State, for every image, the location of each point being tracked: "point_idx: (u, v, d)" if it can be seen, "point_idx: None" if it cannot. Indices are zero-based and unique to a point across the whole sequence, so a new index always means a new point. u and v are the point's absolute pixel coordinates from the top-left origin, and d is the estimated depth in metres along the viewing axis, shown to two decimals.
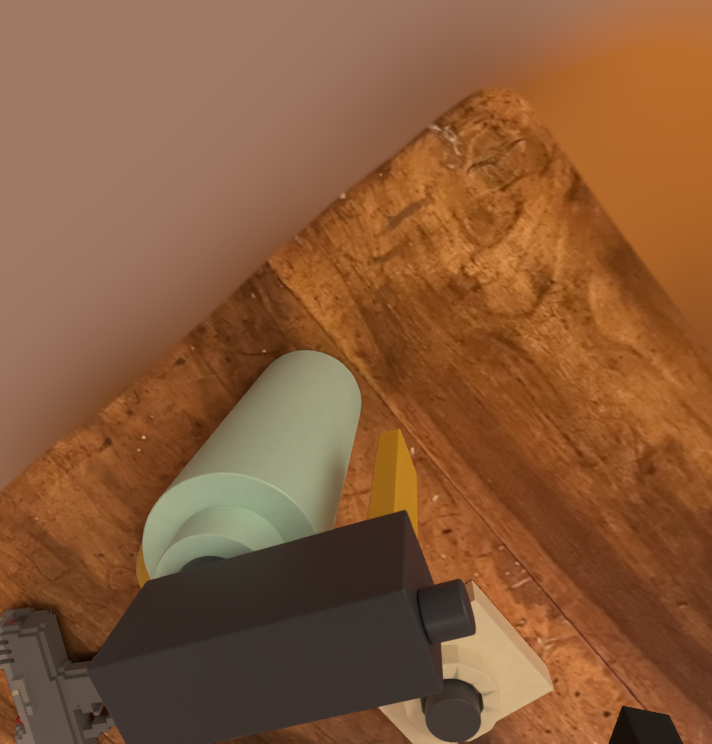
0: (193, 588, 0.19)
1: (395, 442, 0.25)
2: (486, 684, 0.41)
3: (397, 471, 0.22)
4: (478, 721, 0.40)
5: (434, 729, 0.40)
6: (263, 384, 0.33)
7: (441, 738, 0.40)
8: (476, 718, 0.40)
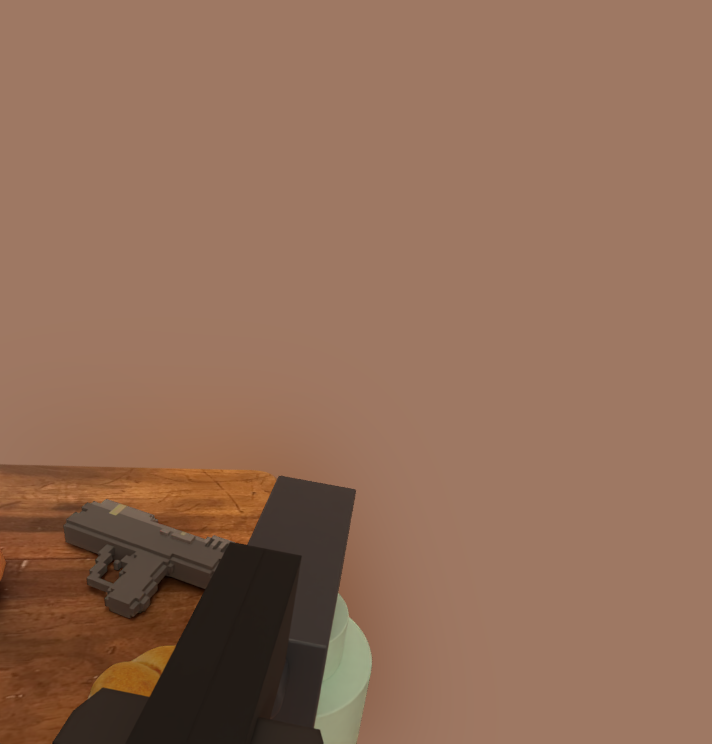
0: None
1: None
2: None
3: None
4: None
5: None
6: None
7: None
8: None
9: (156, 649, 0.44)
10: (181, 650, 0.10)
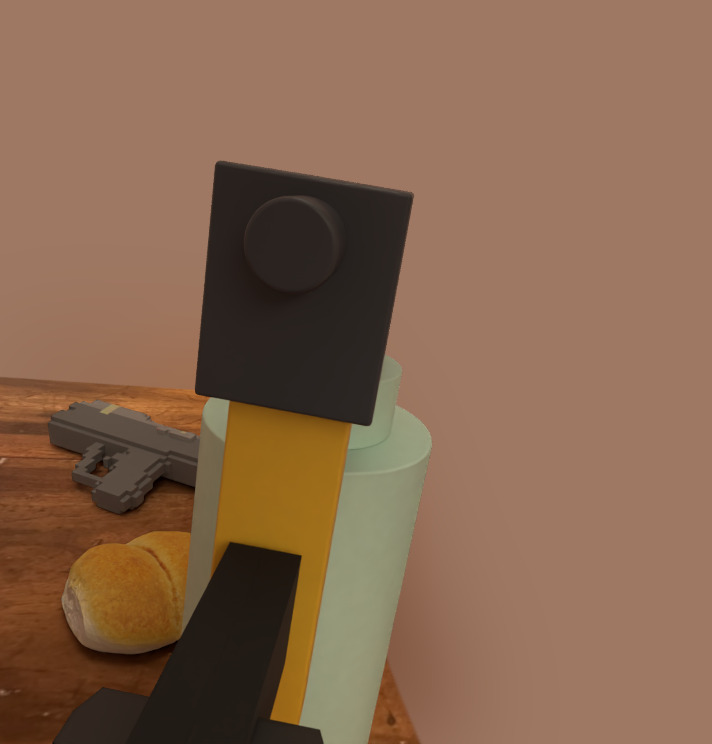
0: None
1: (307, 673, 0.14)
2: None
3: (322, 574, 0.13)
4: None
5: None
6: None
7: None
8: None
9: (149, 533, 0.37)
10: (181, 650, 0.10)
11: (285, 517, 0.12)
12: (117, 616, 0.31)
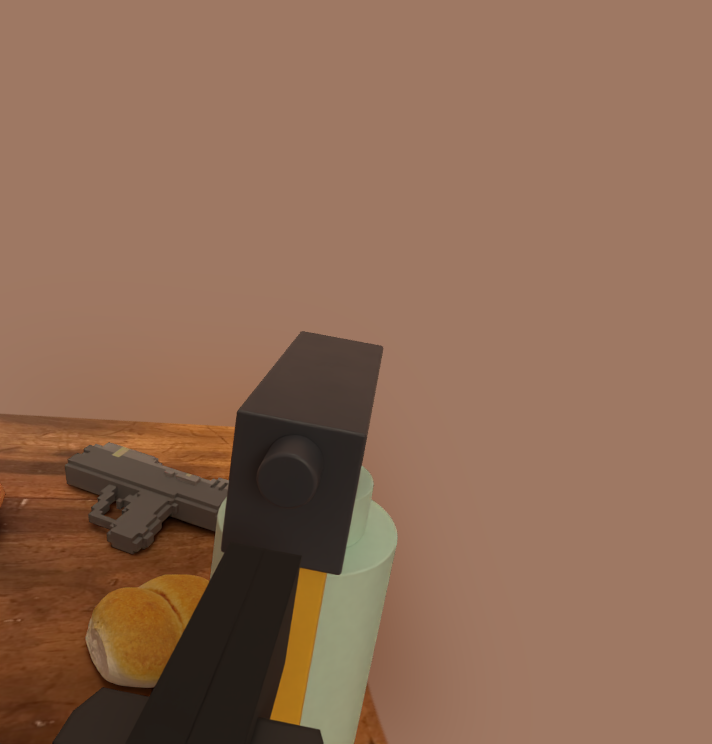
0: None
1: None
2: None
3: (307, 667, 0.18)
4: None
5: None
6: None
7: None
8: None
9: (160, 577, 0.42)
10: (181, 650, 0.10)
11: None
12: (136, 655, 0.36)
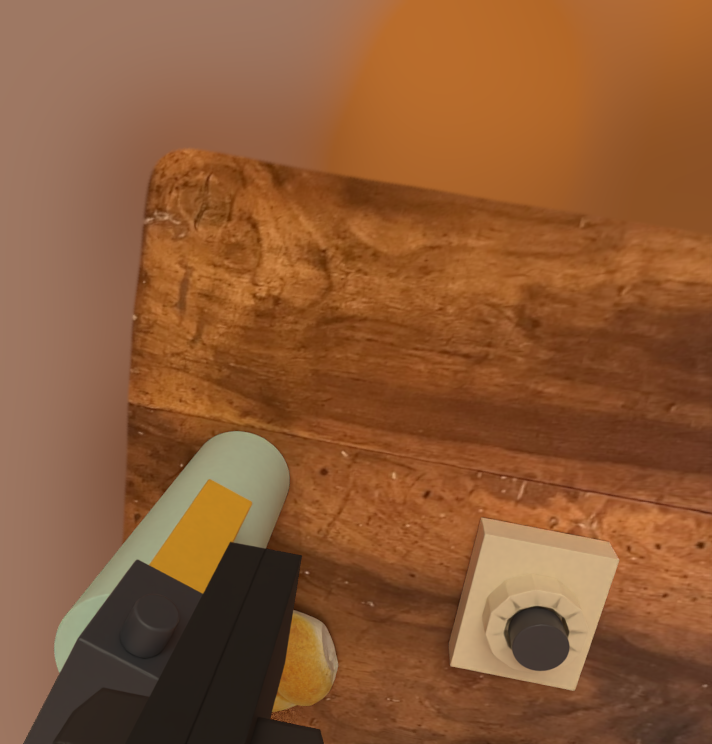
0: None
1: (197, 495, 0.28)
2: (547, 597, 0.40)
3: (177, 525, 0.25)
4: (560, 634, 0.39)
5: (532, 665, 0.40)
6: None
7: (545, 669, 0.40)
8: (556, 633, 0.39)
9: None
10: (181, 650, 0.10)
11: (188, 551, 0.24)
12: (299, 635, 0.44)
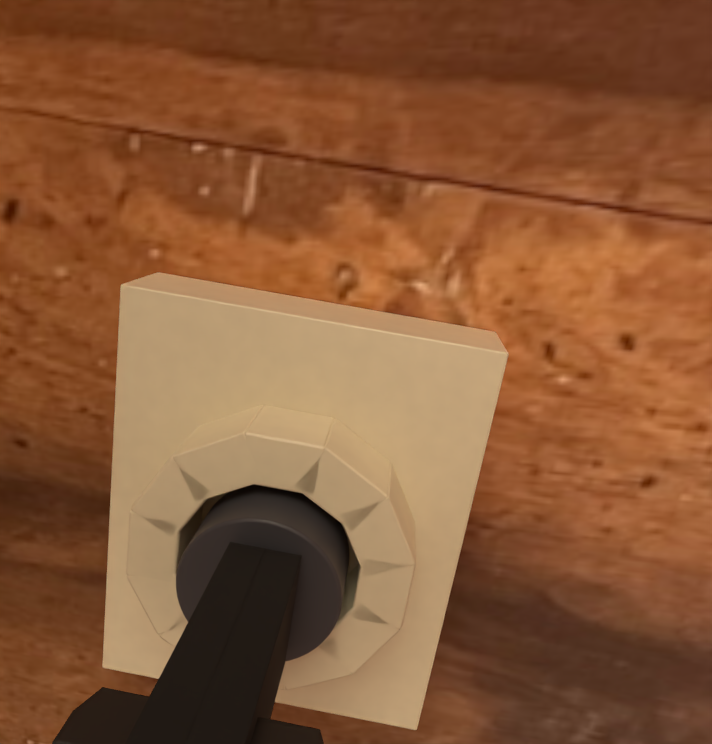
0: None
1: None
2: (283, 457, 0.13)
3: None
4: (309, 548, 0.13)
5: None
6: None
7: None
8: (296, 545, 0.13)
9: None
10: (181, 650, 0.10)
11: None
12: None
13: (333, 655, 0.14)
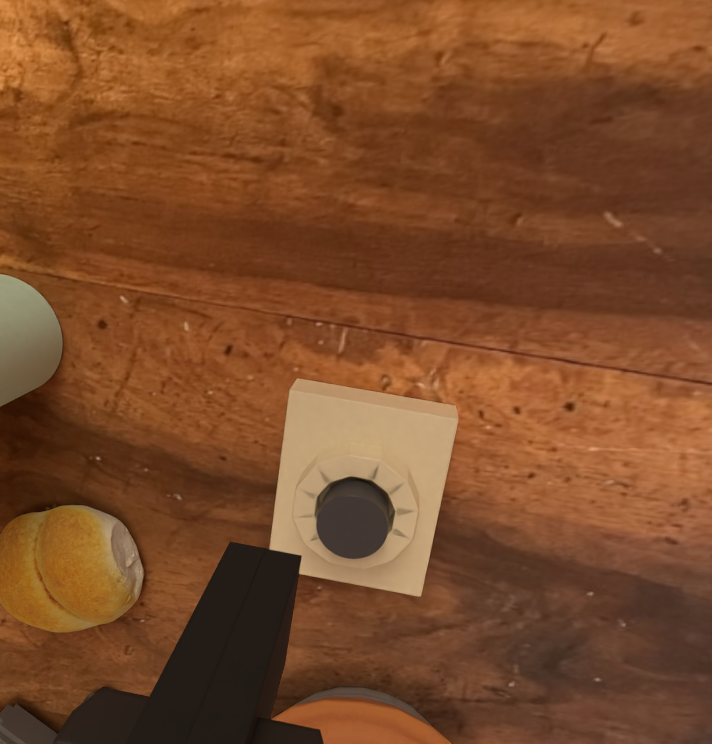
0: None
1: None
2: (363, 465, 0.31)
3: None
4: (374, 507, 0.30)
5: (344, 551, 0.31)
6: None
7: (360, 556, 0.31)
8: (369, 506, 0.30)
9: (58, 628, 0.37)
10: (181, 650, 0.10)
11: None
12: (80, 530, 0.36)
13: (383, 552, 0.32)
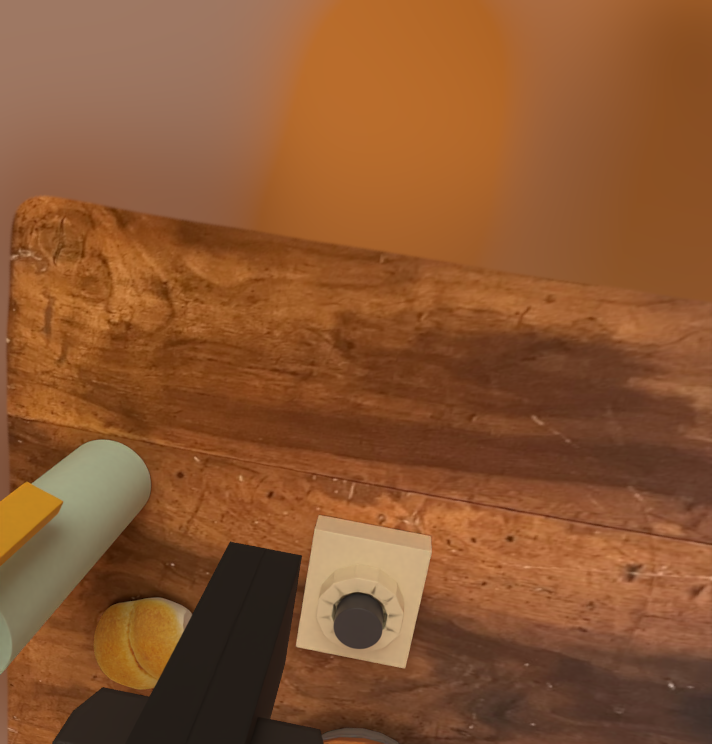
0: None
1: (9, 495, 0.34)
2: (365, 584, 0.45)
3: None
4: (373, 616, 0.45)
5: (352, 644, 0.45)
6: None
7: (363, 647, 0.45)
8: (369, 615, 0.45)
9: (142, 687, 0.52)
10: (181, 650, 0.10)
11: None
12: (162, 619, 0.50)
13: (378, 641, 0.47)
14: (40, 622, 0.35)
